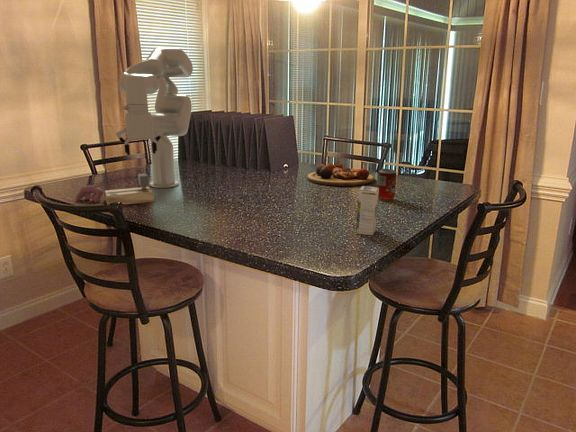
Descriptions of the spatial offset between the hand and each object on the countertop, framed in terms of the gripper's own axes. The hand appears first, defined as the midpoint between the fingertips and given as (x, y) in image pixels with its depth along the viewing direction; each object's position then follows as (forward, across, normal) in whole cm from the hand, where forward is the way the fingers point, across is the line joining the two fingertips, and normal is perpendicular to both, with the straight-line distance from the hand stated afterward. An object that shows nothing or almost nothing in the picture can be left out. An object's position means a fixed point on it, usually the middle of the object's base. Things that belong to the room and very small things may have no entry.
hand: (141, 153), depth 186 cm
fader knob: (+14, 0, 0) cm, 14 cm away
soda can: (+18, +89, -38) cm, 99 cm away
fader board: (+18, -6, 0) cm, 19 cm away
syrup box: (+18, +58, -70) cm, 93 cm away
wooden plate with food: (+19, +92, +2) cm, 94 cm away
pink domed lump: (+18, -20, +7) cm, 28 cm away
